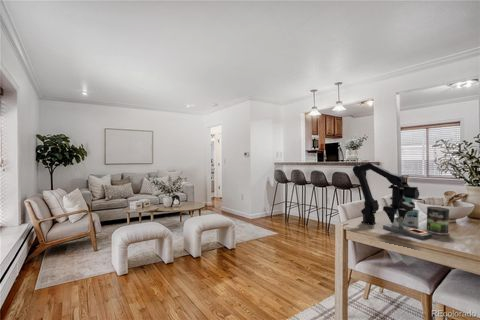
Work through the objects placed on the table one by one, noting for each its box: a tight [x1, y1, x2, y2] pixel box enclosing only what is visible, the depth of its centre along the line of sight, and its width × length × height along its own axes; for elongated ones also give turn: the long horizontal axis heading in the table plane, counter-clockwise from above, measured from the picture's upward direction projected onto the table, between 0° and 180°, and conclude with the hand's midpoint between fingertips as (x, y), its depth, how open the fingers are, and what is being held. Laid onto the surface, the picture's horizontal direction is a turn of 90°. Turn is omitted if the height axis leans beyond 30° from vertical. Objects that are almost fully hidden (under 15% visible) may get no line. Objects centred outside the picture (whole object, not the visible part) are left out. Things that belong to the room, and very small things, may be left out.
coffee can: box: [426, 206, 450, 236], centre depth 143 cm, size 10×10×14 cm
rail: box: [382, 223, 434, 241], centre depth 142 cm, size 22×10×2 cm, turn 26°
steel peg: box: [391, 215, 404, 228], centre depth 146 cm, size 4×4×8 cm
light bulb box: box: [403, 208, 420, 228], centre depth 159 cm, size 11×7×11 cm, turn 168°
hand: (397, 222), depth 147 cm, fingers open, 9 cm apart
